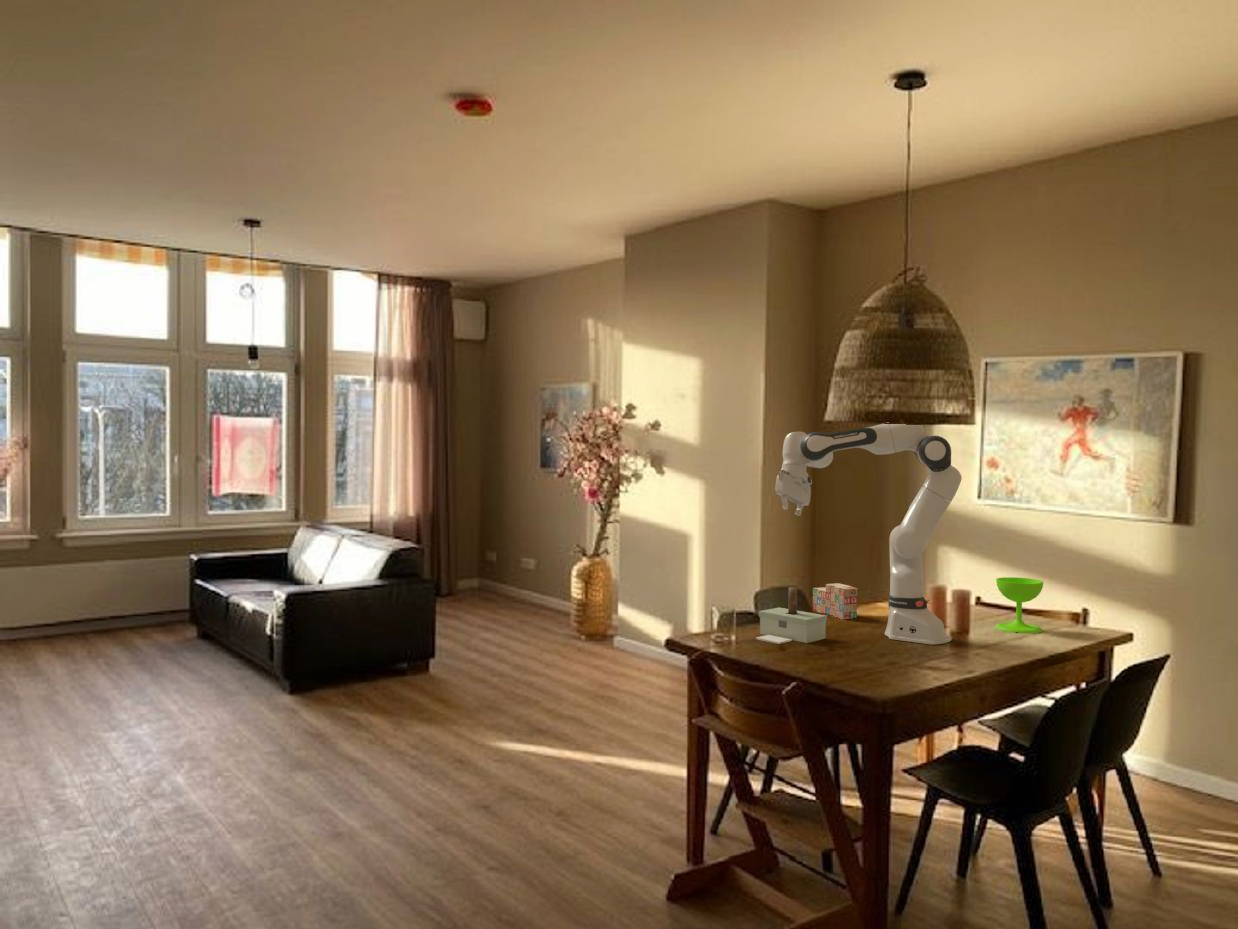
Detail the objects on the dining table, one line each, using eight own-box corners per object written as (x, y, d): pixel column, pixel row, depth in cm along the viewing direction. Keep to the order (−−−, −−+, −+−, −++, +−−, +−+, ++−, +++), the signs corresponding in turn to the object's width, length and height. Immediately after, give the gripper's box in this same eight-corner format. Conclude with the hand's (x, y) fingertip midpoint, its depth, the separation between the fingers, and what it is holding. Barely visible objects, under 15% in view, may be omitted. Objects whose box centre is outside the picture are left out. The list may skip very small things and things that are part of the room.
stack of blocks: (812, 610, 371) (812, 580, 370) (825, 609, 373) (825, 579, 373) (843, 620, 351) (844, 588, 351) (857, 619, 353) (857, 587, 353)
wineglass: (1050, 634, 328) (1051, 584, 327) (1005, 633, 328) (1006, 583, 327) (1031, 625, 344) (1032, 577, 343) (988, 624, 344) (989, 577, 343)
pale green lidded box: (826, 638, 317) (826, 615, 317) (806, 643, 309) (806, 619, 309) (778, 629, 332) (779, 607, 332) (758, 633, 324) (758, 611, 324)
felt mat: (791, 641, 312) (791, 639, 312) (779, 644, 307) (779, 642, 307) (768, 636, 319) (768, 634, 319) (755, 639, 315) (755, 637, 315)
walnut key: (798, 619, 320) (798, 588, 320) (793, 620, 318) (793, 588, 318) (791, 618, 322) (792, 587, 322) (786, 619, 320) (786, 587, 320)
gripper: (787, 466, 322) (785, 504, 318) (814, 481, 337) (812, 518, 333) (771, 468, 326) (769, 506, 322) (798, 482, 341) (797, 519, 337)
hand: (791, 512), depth 328 cm, fingers open, 8 cm apart
